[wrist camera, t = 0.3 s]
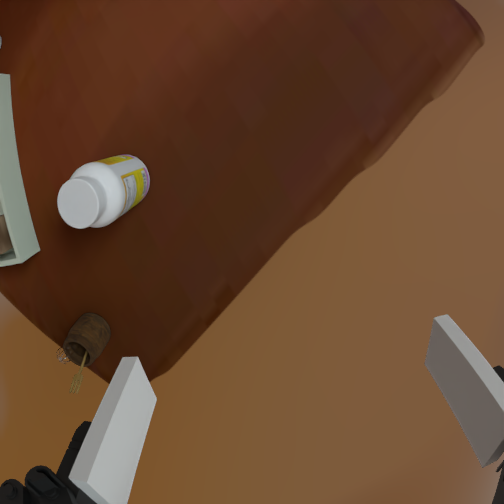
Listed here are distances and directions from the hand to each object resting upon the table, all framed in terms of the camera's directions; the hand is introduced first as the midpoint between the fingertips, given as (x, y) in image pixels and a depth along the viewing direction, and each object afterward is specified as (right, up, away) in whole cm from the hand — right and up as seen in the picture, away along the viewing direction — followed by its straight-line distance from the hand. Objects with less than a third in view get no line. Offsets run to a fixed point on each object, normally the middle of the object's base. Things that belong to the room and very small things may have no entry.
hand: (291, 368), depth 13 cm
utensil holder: (-26, -7, +33) cm, 42 cm away
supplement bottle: (-17, +14, +25) cm, 33 cm away
